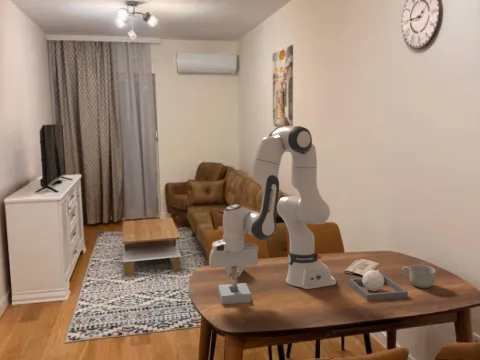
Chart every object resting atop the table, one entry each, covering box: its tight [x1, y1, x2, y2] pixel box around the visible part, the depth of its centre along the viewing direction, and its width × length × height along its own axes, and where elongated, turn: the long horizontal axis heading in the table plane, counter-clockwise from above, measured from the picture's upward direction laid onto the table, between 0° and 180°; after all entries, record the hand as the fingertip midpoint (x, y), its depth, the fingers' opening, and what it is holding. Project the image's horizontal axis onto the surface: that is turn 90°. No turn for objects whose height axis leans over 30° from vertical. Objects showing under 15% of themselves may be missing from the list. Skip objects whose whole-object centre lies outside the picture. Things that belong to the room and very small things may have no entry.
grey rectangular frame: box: [348, 276, 409, 302], centre depth 190 cm, size 18×18×2 cm
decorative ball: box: [361, 269, 385, 292], centre depth 191 cm, size 9×10×12 cm
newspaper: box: [343, 258, 381, 276], centre depth 218 cm, size 23×12×2 cm, turn 144°
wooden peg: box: [230, 267, 238, 287], centre depth 182 cm, size 2×5×8 cm, turn 9°
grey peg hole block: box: [217, 282, 252, 305], centre depth 184 cm, size 12×12×4 cm
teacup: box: [401, 264, 437, 289], centre depth 196 cm, size 14×11×8 cm
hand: (233, 276), depth 183 cm, fingers closed on wooden peg, 2 cm apart
